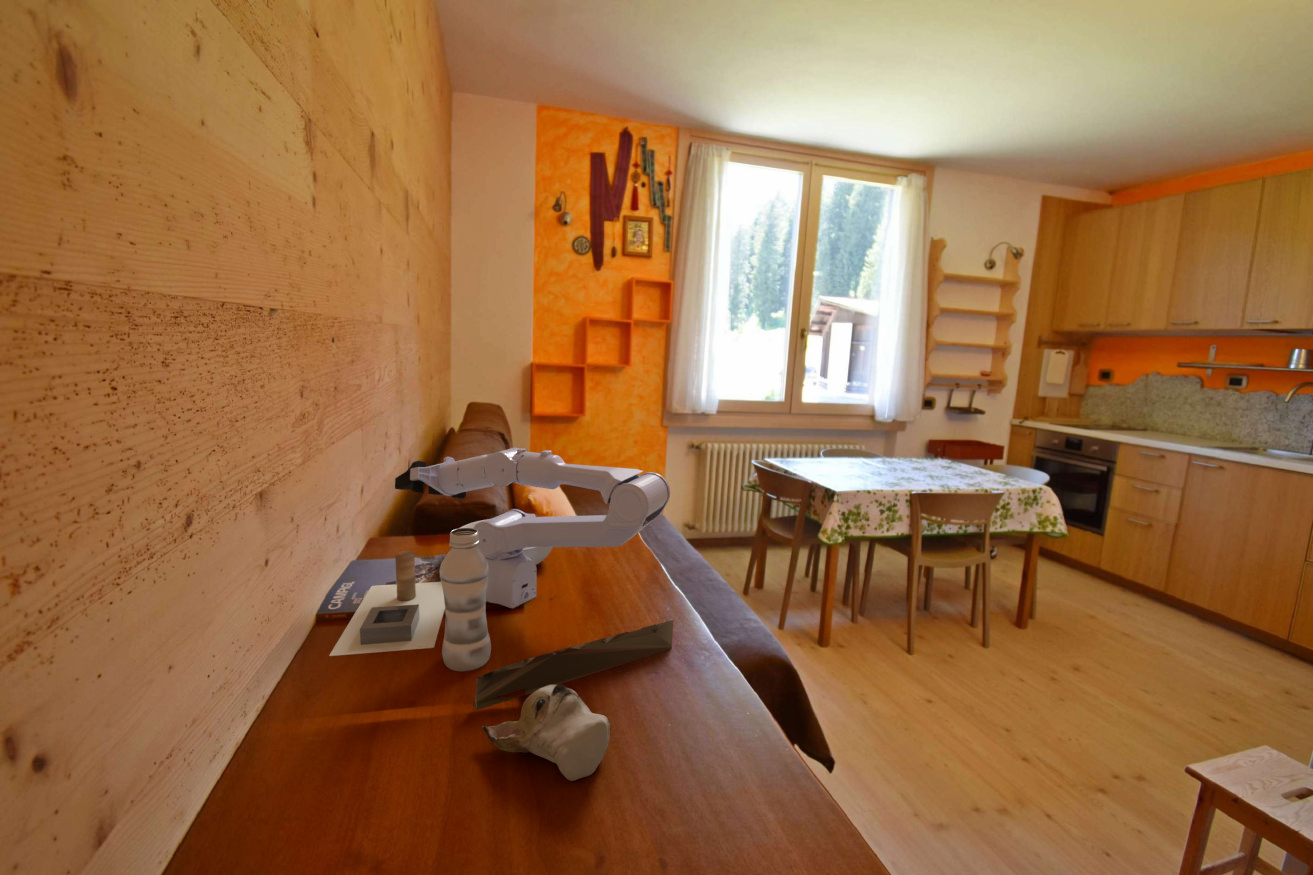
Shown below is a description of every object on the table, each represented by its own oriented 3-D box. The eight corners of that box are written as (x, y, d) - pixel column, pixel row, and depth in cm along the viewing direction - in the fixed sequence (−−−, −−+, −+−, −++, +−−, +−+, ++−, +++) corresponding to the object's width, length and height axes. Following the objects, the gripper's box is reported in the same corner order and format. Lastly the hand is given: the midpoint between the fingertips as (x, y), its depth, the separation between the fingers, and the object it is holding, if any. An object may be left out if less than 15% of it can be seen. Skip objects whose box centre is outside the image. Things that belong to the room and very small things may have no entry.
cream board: (371, 590, 104) (371, 585, 104) (452, 586, 107) (452, 581, 107) (329, 662, 81) (328, 655, 81) (434, 653, 84) (433, 647, 84)
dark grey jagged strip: (667, 646, 89) (668, 614, 88) (672, 650, 88) (673, 617, 87) (473, 706, 73) (472, 668, 72) (476, 712, 72) (475, 673, 71)
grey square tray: (372, 622, 91) (371, 607, 90) (419, 618, 92) (419, 604, 92) (360, 644, 84) (359, 628, 84) (411, 640, 86) (410, 625, 85)
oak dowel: (419, 596, 100) (417, 553, 99) (404, 602, 98) (402, 558, 96) (408, 592, 102) (407, 549, 100) (393, 598, 99) (391, 554, 98)
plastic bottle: (477, 682, 78) (475, 542, 74) (432, 675, 79) (428, 536, 76) (499, 657, 84) (498, 527, 81) (457, 651, 85) (454, 522, 82)
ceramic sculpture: (565, 733, 55) (475, 682, 64) (567, 816, 56) (478, 753, 65) (637, 686, 63) (547, 646, 73) (637, 758, 64) (549, 710, 74)
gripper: (496, 459, 109) (443, 471, 115) (437, 445, 96) (381, 458, 102) (496, 496, 107) (443, 506, 113) (436, 486, 95) (379, 497, 100)
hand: (413, 486), depth 107 cm, fingers open, 7 cm apart
